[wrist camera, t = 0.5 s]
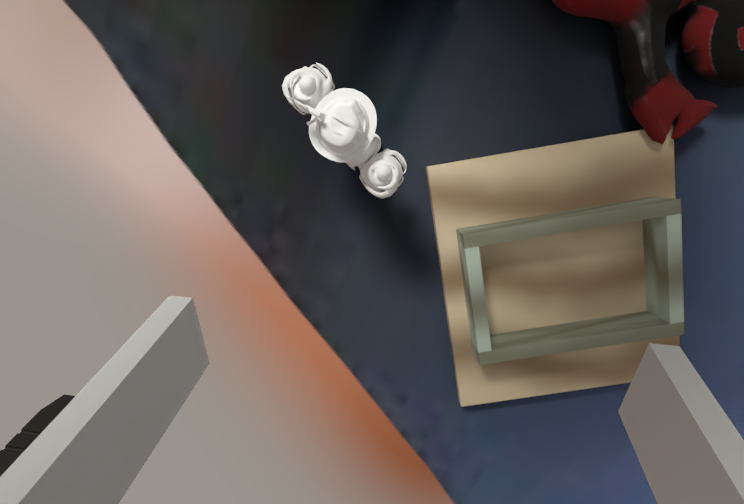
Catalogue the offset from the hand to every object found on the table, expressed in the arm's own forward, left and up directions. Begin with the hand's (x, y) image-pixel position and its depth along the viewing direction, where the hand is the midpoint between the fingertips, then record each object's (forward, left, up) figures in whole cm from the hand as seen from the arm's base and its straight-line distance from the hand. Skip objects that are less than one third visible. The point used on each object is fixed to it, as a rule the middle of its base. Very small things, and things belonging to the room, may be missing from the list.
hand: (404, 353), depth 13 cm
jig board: (+5, +13, -22) cm, 26 cm away
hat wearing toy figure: (-8, -1, -22) cm, 23 cm away
